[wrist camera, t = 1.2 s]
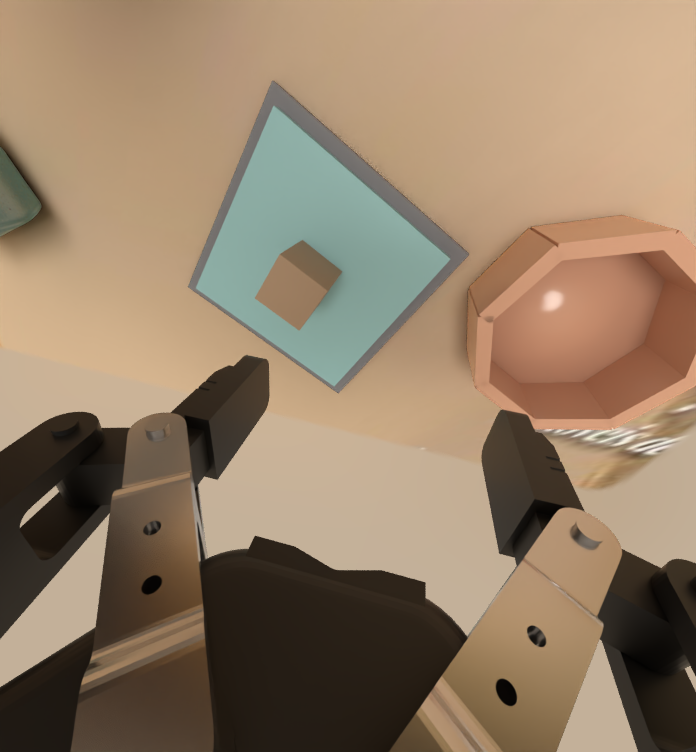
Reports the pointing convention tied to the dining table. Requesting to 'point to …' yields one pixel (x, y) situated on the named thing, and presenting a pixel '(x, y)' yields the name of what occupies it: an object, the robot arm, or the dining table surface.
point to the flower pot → (14, 197)
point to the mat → (367, 175)
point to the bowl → (586, 323)
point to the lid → (315, 254)
